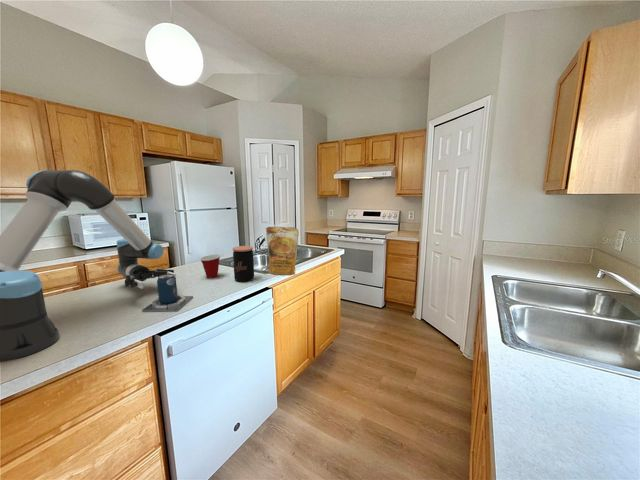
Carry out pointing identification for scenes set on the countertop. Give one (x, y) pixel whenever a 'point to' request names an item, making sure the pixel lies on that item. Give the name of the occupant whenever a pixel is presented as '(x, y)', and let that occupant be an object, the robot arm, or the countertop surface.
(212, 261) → the plastic cup
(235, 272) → the coffee jar
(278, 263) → the pancake mix bag
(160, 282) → the soda can
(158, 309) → the mount plate
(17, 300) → the robot arm
